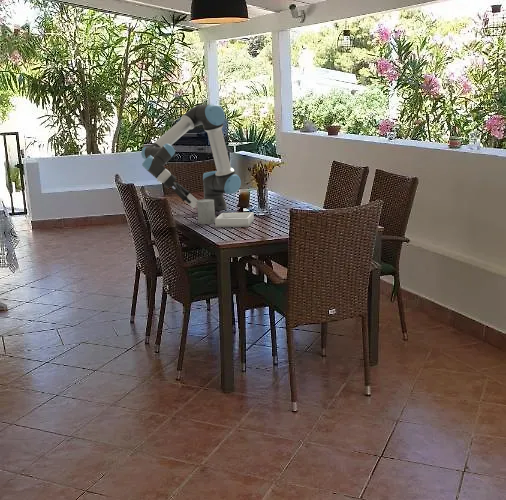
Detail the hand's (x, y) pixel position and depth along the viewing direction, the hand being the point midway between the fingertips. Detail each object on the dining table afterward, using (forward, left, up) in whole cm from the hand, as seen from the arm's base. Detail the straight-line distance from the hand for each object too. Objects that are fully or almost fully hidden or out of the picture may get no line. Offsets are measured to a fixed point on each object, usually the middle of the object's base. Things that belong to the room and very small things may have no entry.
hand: (196, 204), depth 390 cm
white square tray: (+4, +22, -10) cm, 25 cm away
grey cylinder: (-2, +5, -11) cm, 12 cm away
